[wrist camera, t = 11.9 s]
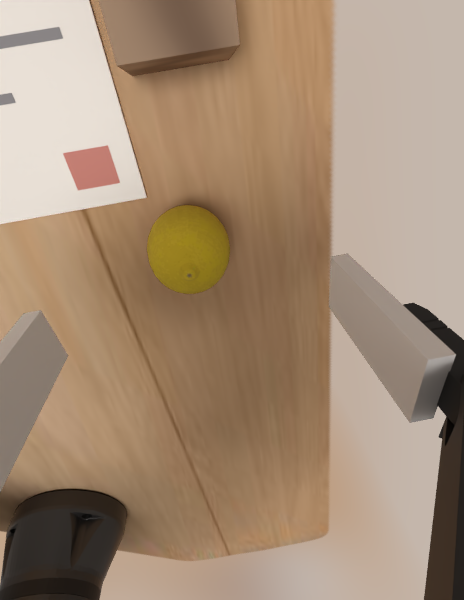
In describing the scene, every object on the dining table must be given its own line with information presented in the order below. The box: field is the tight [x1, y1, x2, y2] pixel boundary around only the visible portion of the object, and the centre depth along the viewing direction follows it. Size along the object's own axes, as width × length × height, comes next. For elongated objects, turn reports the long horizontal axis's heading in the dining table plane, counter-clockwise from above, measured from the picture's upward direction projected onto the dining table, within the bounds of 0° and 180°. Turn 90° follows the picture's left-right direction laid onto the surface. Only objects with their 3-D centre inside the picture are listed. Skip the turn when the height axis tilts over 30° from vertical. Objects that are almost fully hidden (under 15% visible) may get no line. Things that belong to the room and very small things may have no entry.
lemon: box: [147, 205, 230, 294], centre depth 21 cm, size 6×6×8 cm
